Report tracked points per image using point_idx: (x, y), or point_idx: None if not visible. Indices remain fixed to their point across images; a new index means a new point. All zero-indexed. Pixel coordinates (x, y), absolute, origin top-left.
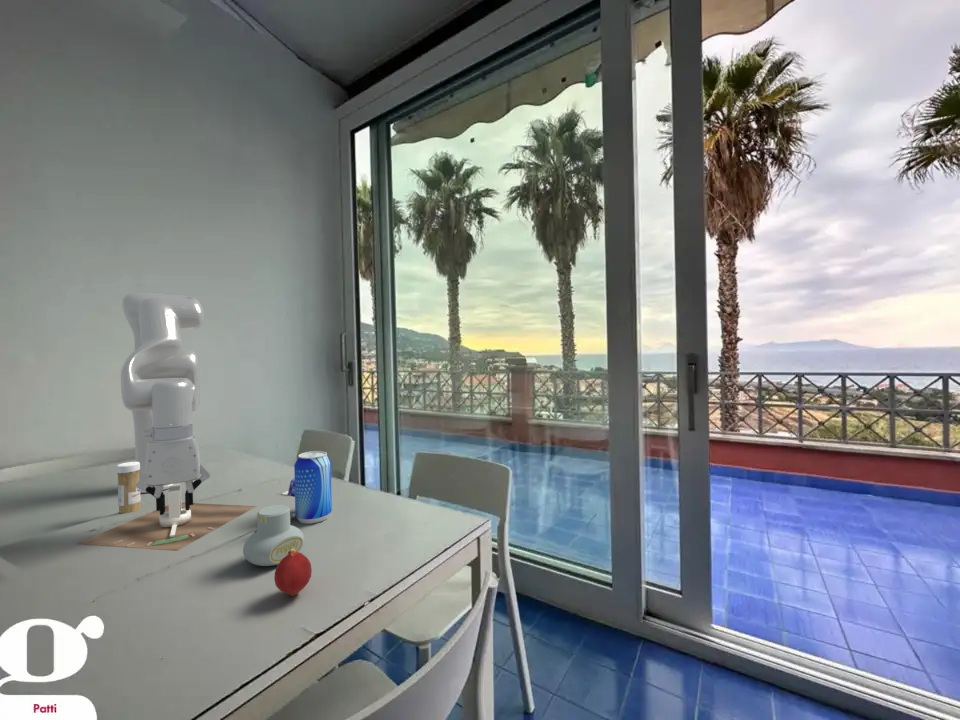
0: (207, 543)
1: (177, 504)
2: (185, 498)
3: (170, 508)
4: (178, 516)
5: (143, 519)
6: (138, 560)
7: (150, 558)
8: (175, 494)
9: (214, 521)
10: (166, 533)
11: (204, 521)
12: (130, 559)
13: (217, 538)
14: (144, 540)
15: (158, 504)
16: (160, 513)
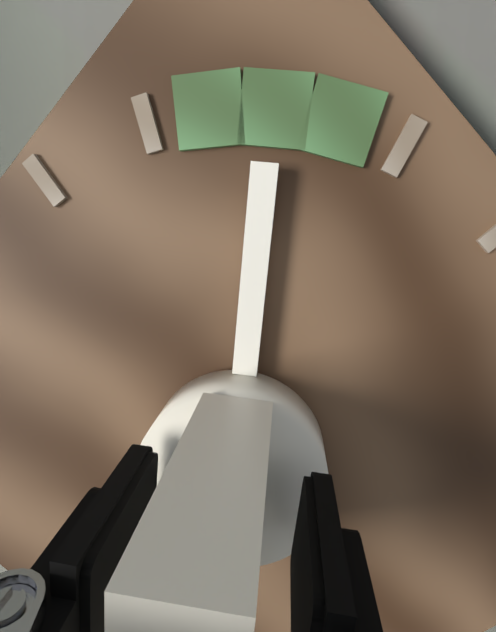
0: (88, 54)
1: (190, 455)
2: (110, 526)
3: (254, 445)
4: (211, 394)
5: (391, 623)
6: (455, 38)
7: (392, 22)
8: (171, 555)
9: (33, 311)
10: (294, 290)
11: (87, 352)
12: (492, 94)
13: (38, 105)
14: (420, 252)
15: (350, 571)
16: (328, 479)
